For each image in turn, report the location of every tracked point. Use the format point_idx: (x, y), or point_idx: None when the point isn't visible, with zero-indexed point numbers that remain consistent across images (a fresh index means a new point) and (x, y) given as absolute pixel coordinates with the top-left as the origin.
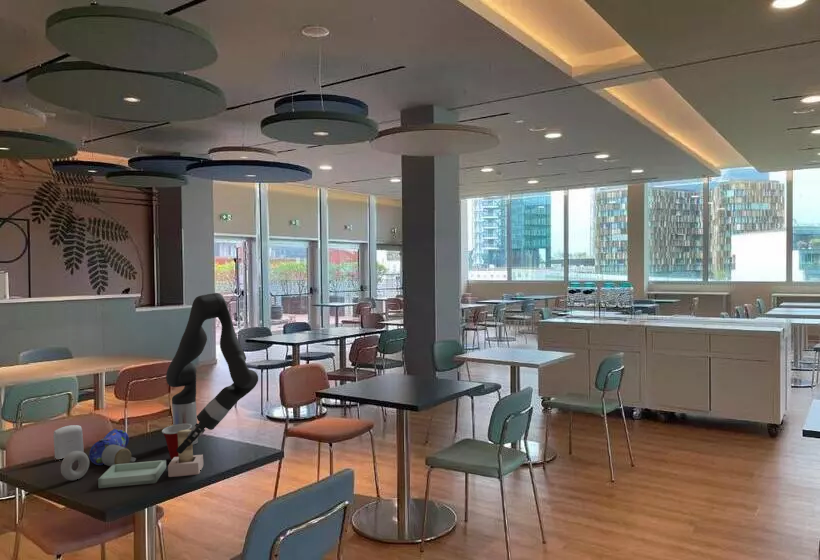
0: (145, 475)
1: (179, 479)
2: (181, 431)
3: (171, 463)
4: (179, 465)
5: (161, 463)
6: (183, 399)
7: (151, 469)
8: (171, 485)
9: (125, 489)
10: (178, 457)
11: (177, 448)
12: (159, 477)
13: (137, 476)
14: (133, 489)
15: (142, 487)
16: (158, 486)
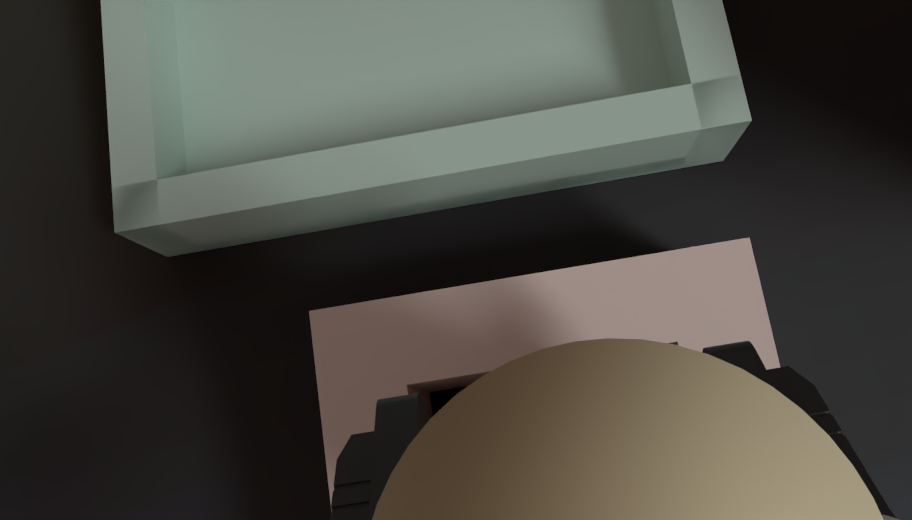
0: (109, 119)
1: (235, 511)
2: (632, 475)
3: (407, 326)
4: (333, 478)
5: (573, 126)
6: None
7: (571, 28)
8: (35, 486)
9: (33, 15)
10: (717, 323)
11: (376, 425)
12: (343, 225)
13: (107, 34)
14: (12, 98)
15: (51, 167)
16: (39, 338)
